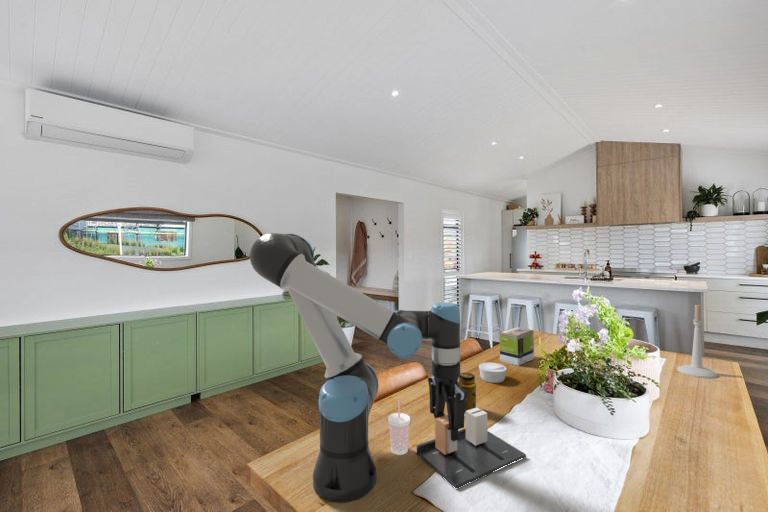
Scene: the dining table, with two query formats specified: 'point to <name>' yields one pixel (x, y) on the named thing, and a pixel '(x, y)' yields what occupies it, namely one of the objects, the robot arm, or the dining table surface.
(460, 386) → the condiment
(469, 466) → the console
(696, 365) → the candlestick
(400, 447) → the beverage cup
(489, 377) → the ramekin
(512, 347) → the tea box
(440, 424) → the fader terracotta
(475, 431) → the fader ivory
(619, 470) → the dining table surface
